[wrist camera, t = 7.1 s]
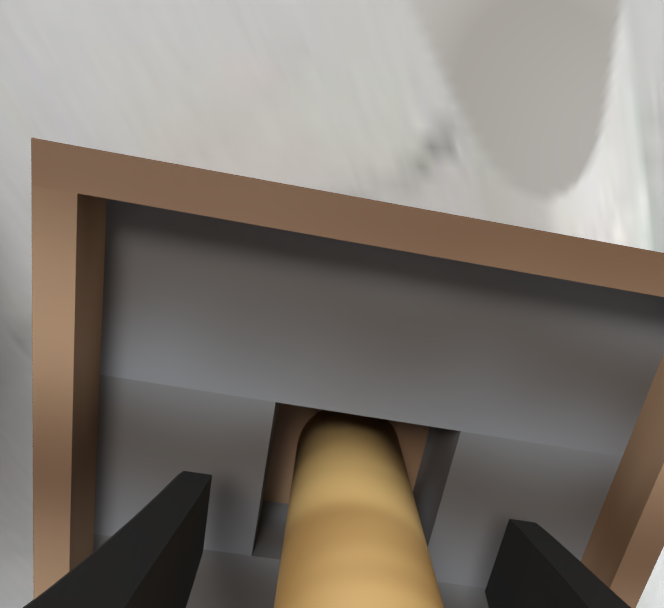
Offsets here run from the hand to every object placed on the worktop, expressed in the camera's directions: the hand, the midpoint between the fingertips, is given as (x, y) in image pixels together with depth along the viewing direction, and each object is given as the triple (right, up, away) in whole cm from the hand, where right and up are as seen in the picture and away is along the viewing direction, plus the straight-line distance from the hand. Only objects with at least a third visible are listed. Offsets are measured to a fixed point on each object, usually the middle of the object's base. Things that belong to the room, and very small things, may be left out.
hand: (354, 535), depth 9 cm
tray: (0, +1, +4) cm, 4 cm away
